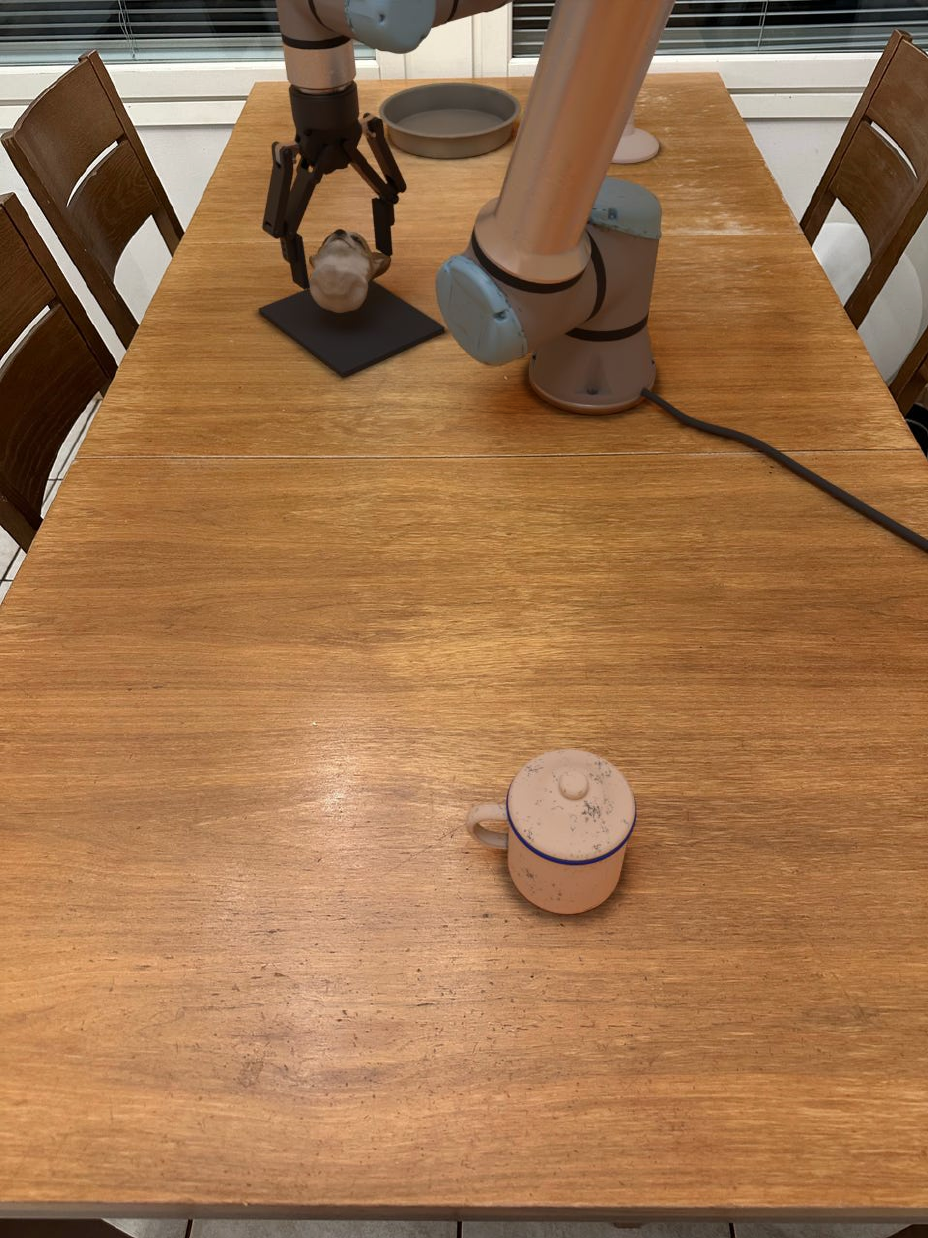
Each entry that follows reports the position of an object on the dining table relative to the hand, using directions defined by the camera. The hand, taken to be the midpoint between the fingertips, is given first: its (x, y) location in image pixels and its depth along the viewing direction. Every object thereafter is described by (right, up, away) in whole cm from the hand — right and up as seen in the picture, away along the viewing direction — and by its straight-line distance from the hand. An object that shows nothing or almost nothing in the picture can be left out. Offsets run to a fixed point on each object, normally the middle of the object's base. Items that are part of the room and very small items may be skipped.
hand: (343, 268), depth 120 cm
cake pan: (+13, +41, +47) cm, 64 cm away
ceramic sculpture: (0, -2, +2) cm, 3 cm away
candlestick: (+42, +36, +42) cm, 69 cm away
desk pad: (0, -5, +6) cm, 8 cm away
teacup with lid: (+21, -63, -47) cm, 81 cm away
